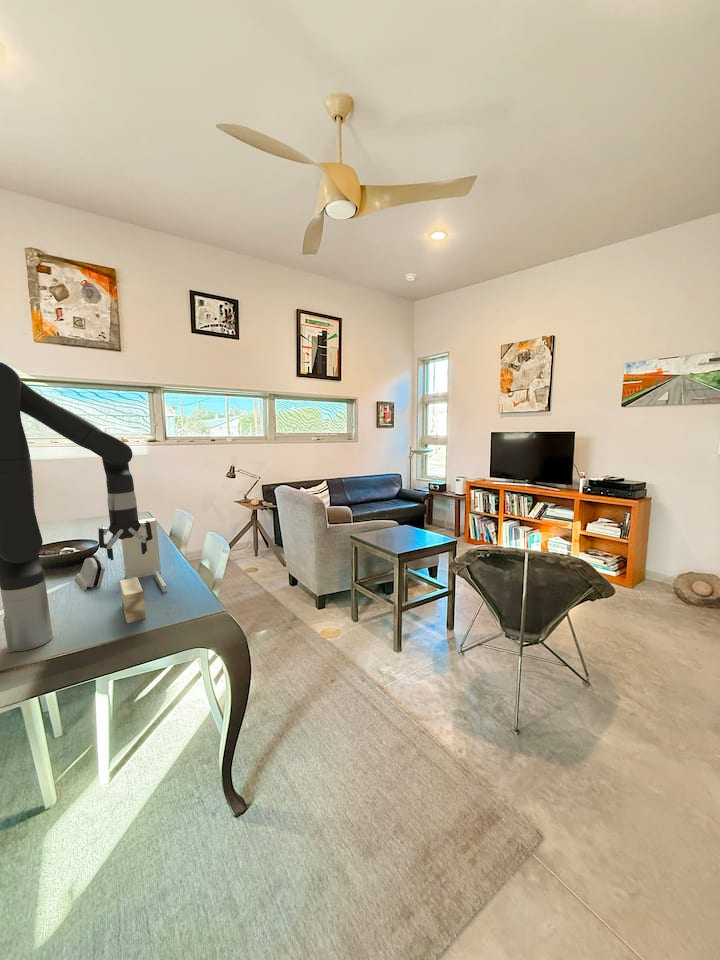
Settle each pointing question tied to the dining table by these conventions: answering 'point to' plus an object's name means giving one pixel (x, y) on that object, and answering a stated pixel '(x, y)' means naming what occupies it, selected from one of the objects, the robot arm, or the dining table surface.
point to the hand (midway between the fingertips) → (128, 556)
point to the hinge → (91, 573)
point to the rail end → (132, 599)
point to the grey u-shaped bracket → (143, 556)
